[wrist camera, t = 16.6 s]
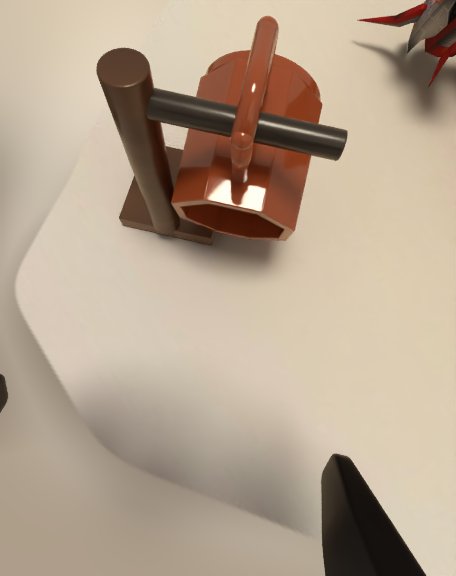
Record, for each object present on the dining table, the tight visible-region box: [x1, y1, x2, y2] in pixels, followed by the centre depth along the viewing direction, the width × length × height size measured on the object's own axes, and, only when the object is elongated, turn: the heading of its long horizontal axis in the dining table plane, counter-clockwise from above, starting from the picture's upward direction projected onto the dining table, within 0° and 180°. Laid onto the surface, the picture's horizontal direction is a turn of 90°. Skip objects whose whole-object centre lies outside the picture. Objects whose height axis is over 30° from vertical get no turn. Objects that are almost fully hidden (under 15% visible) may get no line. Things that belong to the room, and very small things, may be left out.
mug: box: [171, 16, 322, 241], centre depth 18 cm, size 11×7×8 cm
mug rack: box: [97, 48, 347, 245], centre depth 19 cm, size 8×12×14 cm, turn 77°
